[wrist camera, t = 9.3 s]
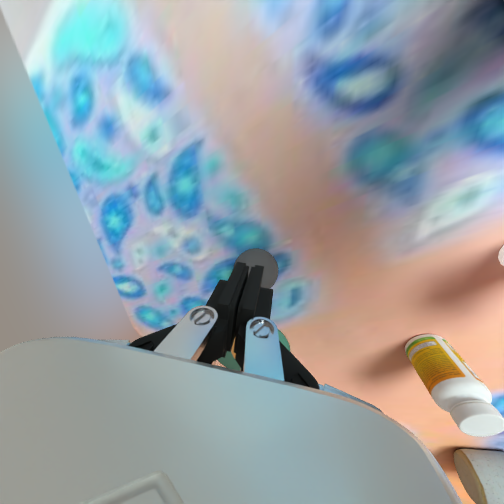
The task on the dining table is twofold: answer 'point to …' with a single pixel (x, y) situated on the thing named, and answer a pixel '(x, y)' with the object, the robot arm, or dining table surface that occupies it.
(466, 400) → the supplement bottle
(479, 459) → the ceramic mug
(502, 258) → the beverage cup
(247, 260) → the charcoal cue ball
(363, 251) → the dining table surface
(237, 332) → the robot arm
